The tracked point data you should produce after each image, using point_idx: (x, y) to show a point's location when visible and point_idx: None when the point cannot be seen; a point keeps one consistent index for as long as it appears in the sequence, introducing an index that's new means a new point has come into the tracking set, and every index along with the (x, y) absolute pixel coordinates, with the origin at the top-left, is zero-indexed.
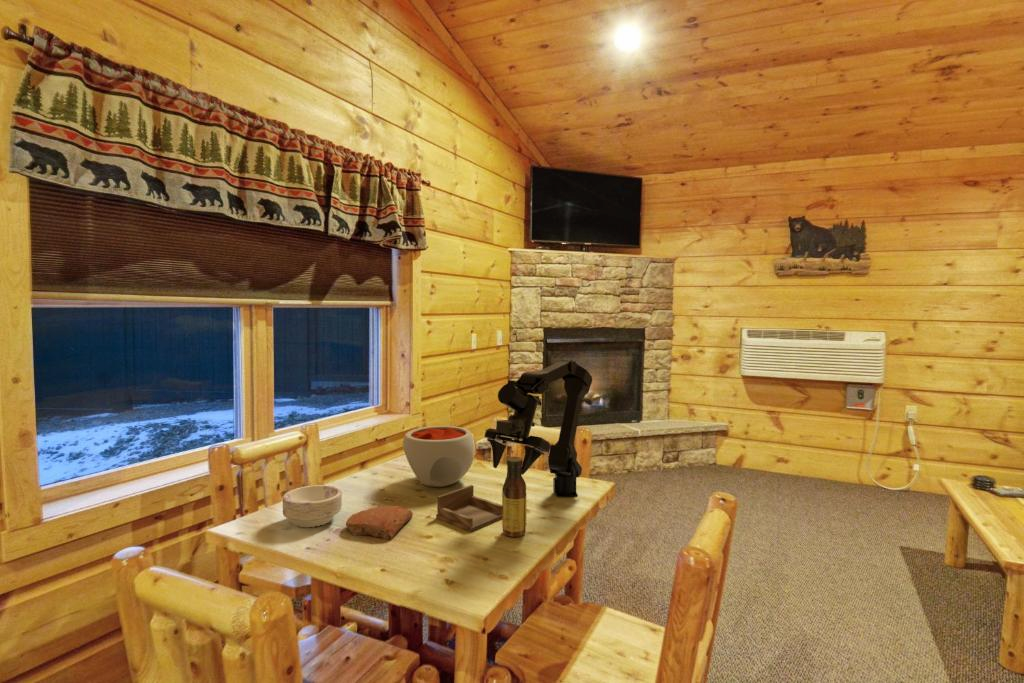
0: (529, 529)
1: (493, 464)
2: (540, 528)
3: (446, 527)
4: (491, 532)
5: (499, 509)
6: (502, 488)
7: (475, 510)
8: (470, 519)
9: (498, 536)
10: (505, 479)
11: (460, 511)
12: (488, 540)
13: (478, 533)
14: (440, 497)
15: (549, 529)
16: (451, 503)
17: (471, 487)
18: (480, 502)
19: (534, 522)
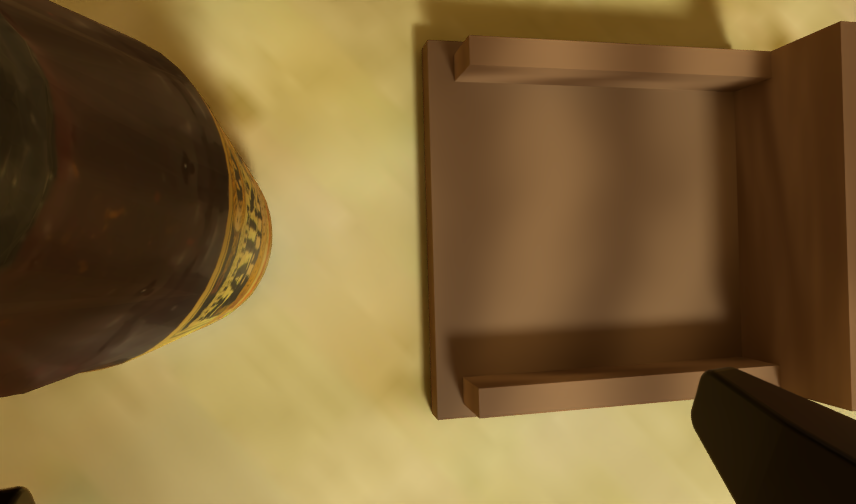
0: (145, 365)
1: (767, 386)
2: (91, 439)
3: (590, 3)
4: (319, 138)
5: (485, 381)
6: (185, 77)
7: (629, 285)
8: (468, 42)
9: (233, 121)
10: (106, 65)
11: (686, 202)
12: (239, 28)
13: (373, 68)
14: (837, 30)
15: (20, 478)
16: (774, 164)
17: (841, 384)
18: (675, 368)
19: (206, 486)
